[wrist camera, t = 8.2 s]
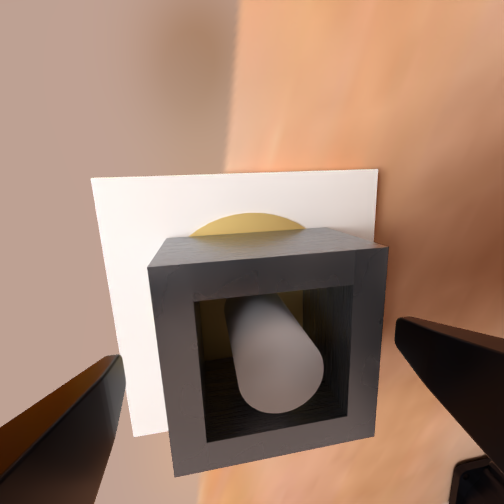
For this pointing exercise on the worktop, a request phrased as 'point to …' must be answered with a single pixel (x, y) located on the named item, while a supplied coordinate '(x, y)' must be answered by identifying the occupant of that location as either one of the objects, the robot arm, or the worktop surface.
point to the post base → (227, 309)
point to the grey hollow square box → (314, 324)
